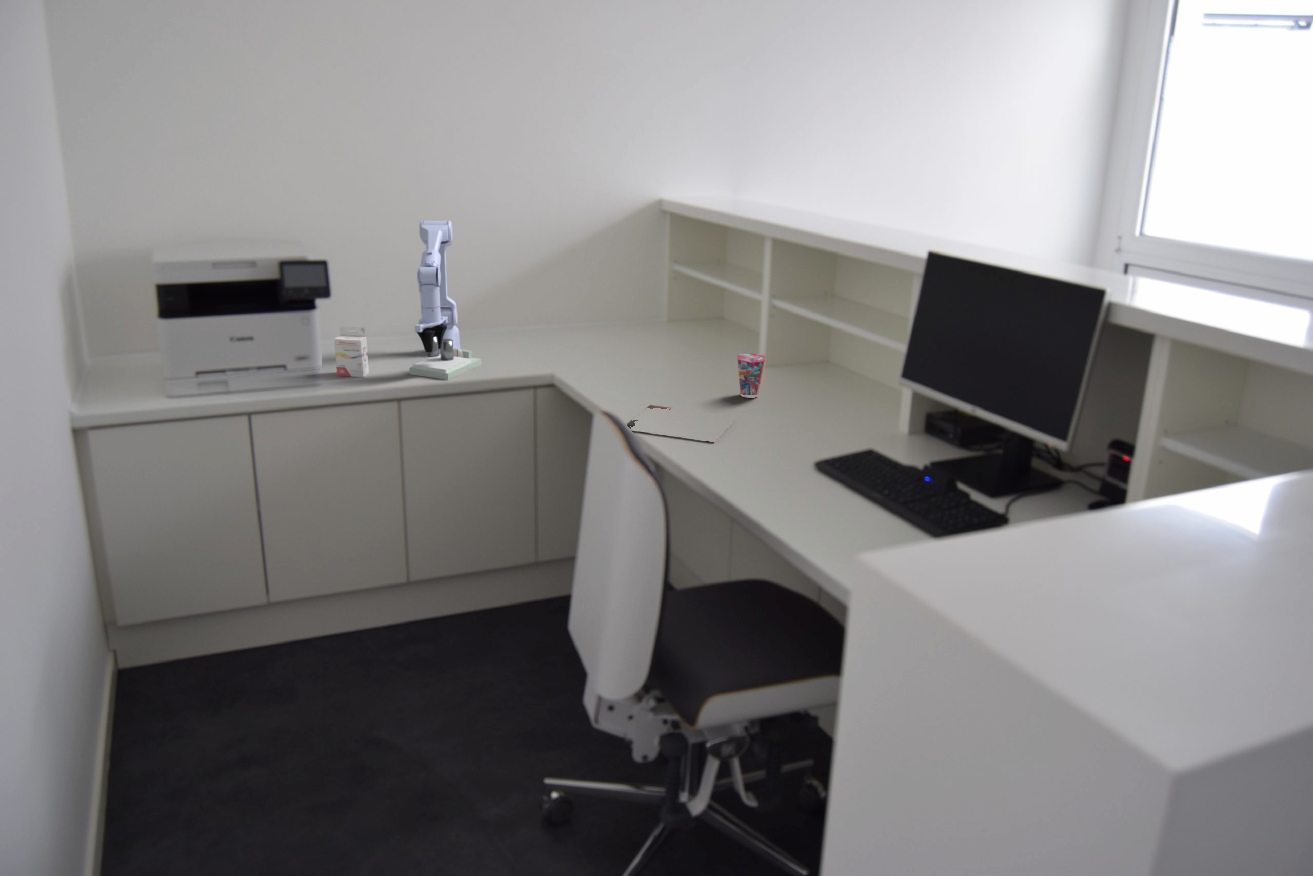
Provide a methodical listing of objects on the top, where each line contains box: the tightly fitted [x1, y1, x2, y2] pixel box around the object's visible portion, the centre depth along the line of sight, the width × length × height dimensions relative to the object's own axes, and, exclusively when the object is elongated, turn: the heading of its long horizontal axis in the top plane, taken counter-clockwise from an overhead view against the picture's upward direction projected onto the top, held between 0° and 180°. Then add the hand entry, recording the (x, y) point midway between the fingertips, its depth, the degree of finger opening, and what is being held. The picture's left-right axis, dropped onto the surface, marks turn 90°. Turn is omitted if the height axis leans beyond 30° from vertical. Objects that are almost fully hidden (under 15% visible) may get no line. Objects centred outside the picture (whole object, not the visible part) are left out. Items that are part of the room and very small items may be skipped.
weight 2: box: [440, 339, 454, 361], centre depth 313 cm, size 4×4×6 cm
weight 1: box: [425, 335, 439, 358], centre depth 305 cm, size 4×4×6 cm
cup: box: [736, 352, 767, 395], centre depth 292 cm, size 9×8×12 cm
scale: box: [408, 348, 482, 381], centre depth 313 cm, size 19×14×5 cm
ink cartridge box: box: [334, 325, 370, 378], centre depth 304 cm, size 9×5×15 cm, turn 84°
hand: (433, 350), depth 305 cm, fingers closed on weight 1, 4 cm apart
